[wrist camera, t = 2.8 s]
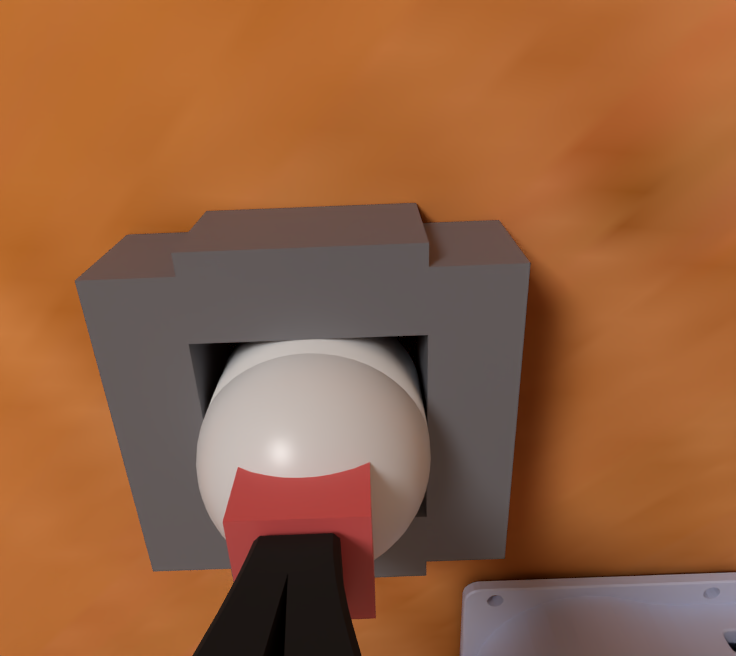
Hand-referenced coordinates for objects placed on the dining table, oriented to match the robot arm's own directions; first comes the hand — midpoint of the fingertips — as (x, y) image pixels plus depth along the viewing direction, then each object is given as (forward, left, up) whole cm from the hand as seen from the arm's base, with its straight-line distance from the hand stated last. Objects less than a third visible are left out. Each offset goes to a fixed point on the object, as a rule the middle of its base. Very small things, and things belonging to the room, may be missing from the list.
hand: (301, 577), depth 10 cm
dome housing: (0, 0, -7) cm, 7 cm away
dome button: (0, 0, -6) cm, 6 cm away
